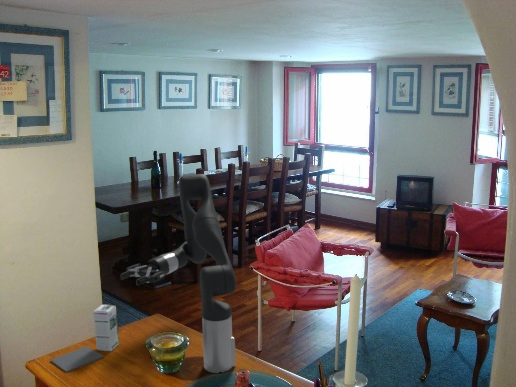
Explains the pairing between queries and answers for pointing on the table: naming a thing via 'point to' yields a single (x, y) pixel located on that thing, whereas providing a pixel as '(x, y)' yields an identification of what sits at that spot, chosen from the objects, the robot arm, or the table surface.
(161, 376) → the table surface
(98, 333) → the syrup box
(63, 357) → the charcoal mat
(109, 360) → the table surface
